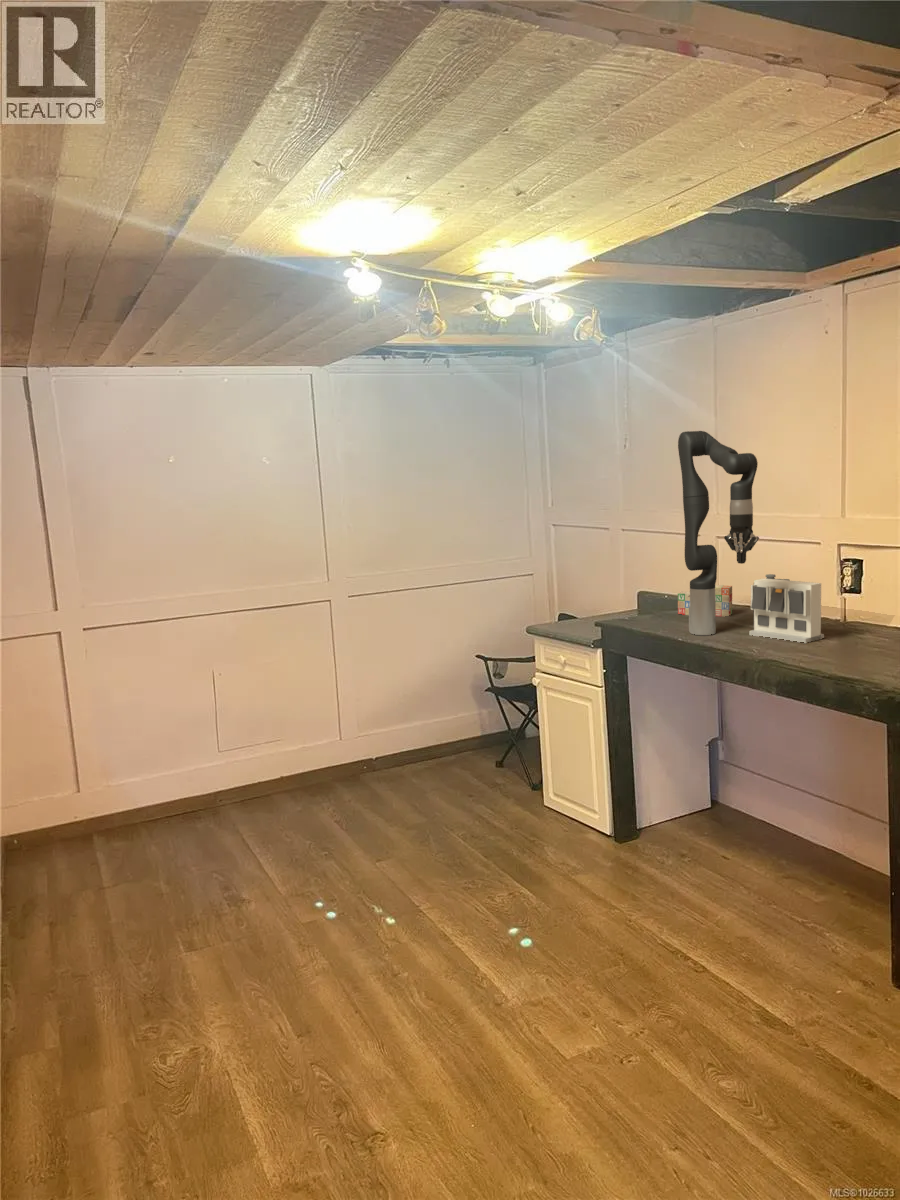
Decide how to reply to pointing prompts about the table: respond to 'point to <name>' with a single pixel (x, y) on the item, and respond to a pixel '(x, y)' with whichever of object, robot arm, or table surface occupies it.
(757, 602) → the rocker switch
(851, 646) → the table surface
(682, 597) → the stack of blocks
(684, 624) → the table surface
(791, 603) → the outlet rocker
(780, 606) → the outlet rocker
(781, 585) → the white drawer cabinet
